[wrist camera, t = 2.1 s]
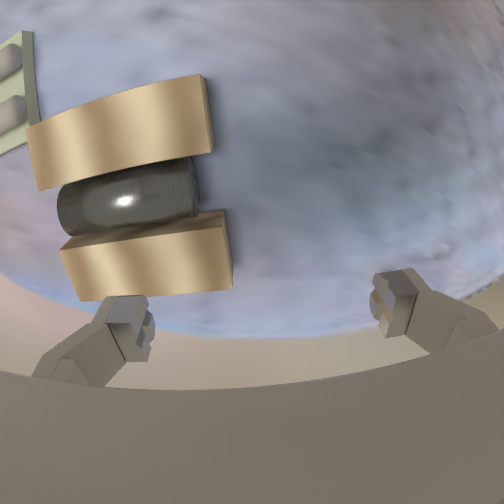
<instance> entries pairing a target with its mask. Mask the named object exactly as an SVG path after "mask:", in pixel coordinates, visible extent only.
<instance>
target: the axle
mask: <svg viewBox="0 0 504 504" xmlns="http://www.w3.org/2000/svg"><path fill="white" fill-rule="evenodd" d="M57 212H58V217H59V221H60V223H61V226H62V227H63V229H64V231H65V232H66V233H67V234H69V235H70V236H79V235H85V234H91V233H96V232H102V231H108V230H114V229H120V228H126V227H132V226H138V225H145V224H151V223H158V222H164V221H171V220H178V219H185V218H192V217H197V216H198V214H199V189H198V183H197V177H196V171H195V167H194V164H193V161H192V159H191V158H190V157H184V158H178V159H173V160H167V161H162V162H157V163H152V164H147V165H142V166H137V167H132V168H128V169H123V170H119V171H115V172H110V173H106V174H102V175H98V176H94V177H90V178H87V179H83V180H79V181H76V182H72V183H68V184H66V185H64V186H63V187H62V188H61V190H60V192H59V195H58V199H57Z"/></svg>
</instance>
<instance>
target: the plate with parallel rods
mask: <svg viewBox="0 0 504 504" xmlns="http://www.w3.org/2000/svg"><path fill="white" fill-rule="evenodd" d="M39 122H41V120H40V114H39V107H38V100H37V92H36V82H35V71H34V55H33V32H29V31H23V30H22V31H20V32H18V33H17V34H15V35H14V36H12V37H11V38H9V39H8V40H7V41H5V42H4V43H2V44H1V45H0V155H2V154H4V153H6V152H8V151H10V150H12V149H14V148H16V147H18V146H21V145H23V144H25V143H27V137H26V132H25V129H26V128H28V127H30V126H32V125H35V124H37V123H39Z"/></svg>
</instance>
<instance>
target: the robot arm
mask: <svg viewBox="0 0 504 504" xmlns="http://www.w3.org/2000/svg"><path fill="white" fill-rule="evenodd" d="M373 285H374V287H375V289H374V290H373V291H372V293H371V295H370V309H371V313H372V315H373V317H374V318H375V319H377V320H379V321H380V322H379V328H380V330H381V332H382V333H383V335H384V337H385V338H390V337H395V336H401V335H406V336H407V337H408V338H409V339H411V340H413V341H414V342H415V343H416V344H418V345H419V346H421V347H422V348H423V349H425V350H426V351H427V352H429V353H430V355H426V356H423V357H419V358H416V359H413V360H409V361H405V362H401V363H398V364H393V365H389V366H385V367H381V368H376V369H371V370H366V371H362V372H357V373H351V374H346V375H341V376H335V377H329V378H323V379H317V380H310V381H303V382H296V383H288V384H278V385H269V386H260V387H259V386H258V387H246V388H231V389H211V390H210V389H209V390H149V389H128V388H113V387H104V386H105V385H106V384H107V383H108V382H109V381H110V379H112V377H113V376H114V375H115V374H116V373H117V372H118V371H119V370H120V369H121V368H122V367H123V366H124V365H125V364H126V362H147V361H148V357H149V354H150V350H151V347H150V344H149V343H150V342H151V341H152V340H153V339H154V335H155V322H154V318H153V315H152V314H151V313H150V312H149V311H148V310H147V308H148V306H149V303H148V300H147V298H146V296H144V295H120V296H107V297H105V299H104V300H103V302H102V304H101V306H100V307H99V309H98V311H97V313H96V315H95V317H94V319H93V321H92V322H91V324H86V325H85V326H83V327H82V328H81V329H79V330H78V331H76V332H75V333H73V334H72V335H70V336H69V337H68V338H66V339H65V340H63V341H62V342H61V343H59V344H58V345H56V346H55V347H53V348H52V349H51V350H49V351H48V352H46V353H45V354H44V355H42V357H41V359H40V361H39V363H38V364H37V366H36V368H35V370H34V372H33V374H32V376H31V377H30V376H25V375H20V374H16V373H11V372H7V371H2V370H0V504H504V328H503V329H501V330H499V329H498V328H497V327H496V325H495V324H494V323H493V322H492V321H491V319H490V318H489V317H488V316H487V315H486V314H485V313H484V312H482V311H480V310H478V309H476V308H474V307H471V306H469V305H467V304H465V303H463V302H461V301H458V300H456V299H454V298H452V297H449V296H447V295H445V294H443V293H440V292H438V291H432V290H431V289H430V287H429V286H428V285H427V284H426V283H425V282H424V280H423V279H422V278H421V277H420V276H419V275H418V274H417V272H416V271H415V270H414V269H412V268H406V269H400V270H396V271H389V272H382V273H376V274H375V275H374V277H373Z"/></svg>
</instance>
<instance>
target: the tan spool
mask: <svg viewBox="0 0 504 504" xmlns="http://www.w3.org/2000/svg"><path fill="white" fill-rule="evenodd" d="M25 132H26V137H27V143H28V148H29V152H30V157H31V161H32V166H33V170H34V174H35V178H36V182H37V185H38V189H39V192H40V191H43V190H46V189H50V188H53V187H56V186H60V185H63V184H66V183H70V182H73V181H77V180H81V179H84V178H88V177H92V176H96V175H100V174H104V173H108V172H112V171H116V170H121V169H125V168H129V167H134V166H139V165H143V164H148V163H153V162H158V161H164V160H169V159H174V158H180V157H186V156H192V155H198V154H205V153H211V151H212V149H213V147H214V137H213V130H212V123H211V116H210V108H209V101H208V93H207V85H206V78H204V77H203V76H202V75H200V74H197V75H191V76H186V77H181V78H176V79H171V80H166V81H162V82H157V83H153V84H149V85H145V86H141V87H137V88H134V89H130V90H127V91H123V92H120V93H116V94H113V95H110V96H107V97H104V98H101V99H98V100H95V101H92V102H89V103H86V104H83V105H80V106H78V107H75V108H72V109H70V110H67V111H65V112H62V113H60V114H57V115H55V116H53V117H50V118H48V119H46V120H43V121H41V122H39V123H37V124H35V125H32V126H30V127H28V128H26V129H25ZM59 252H60V255H61V257H62V260H63V262H64V265H65V267H66V270H67V272H68V274H69V277H70V279H71V281H72V284H73V286H74V288H75V290H76V293H77V295H78V297H79V299H80V301H81V302H84V301H99V300H104V299H105V297H107V296H120V295H144V296H146V297H152V296H164V295H175V294H186V293H196V292H206V291H216V290H226V289H233V263H232V256H231V250H230V244H229V238H228V231H227V225H226V219H225V212H224V210H217V211H209V212H202V213H199V214H198V216H197V217H192V218H185V219H178V220H171V221H164V222H158V223H151V224H145V225H138V226H132V227H126V228H120V229H114V230H108V231H102V232H96V233H91V234H85V235H79V236H73V237H72V238H71V239H70V240H69V241H68V242H67V243H66V244H65V245H64V246H63V247H62V248H61V249H60V250H59Z"/></svg>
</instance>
